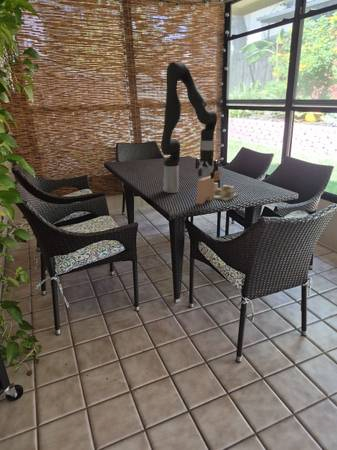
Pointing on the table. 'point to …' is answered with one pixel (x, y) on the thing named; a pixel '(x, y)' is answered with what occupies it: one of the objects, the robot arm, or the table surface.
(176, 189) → the robot arm
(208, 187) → the terracotta slotted plate
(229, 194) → the ash slotted base
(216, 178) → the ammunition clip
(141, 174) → the table surface
